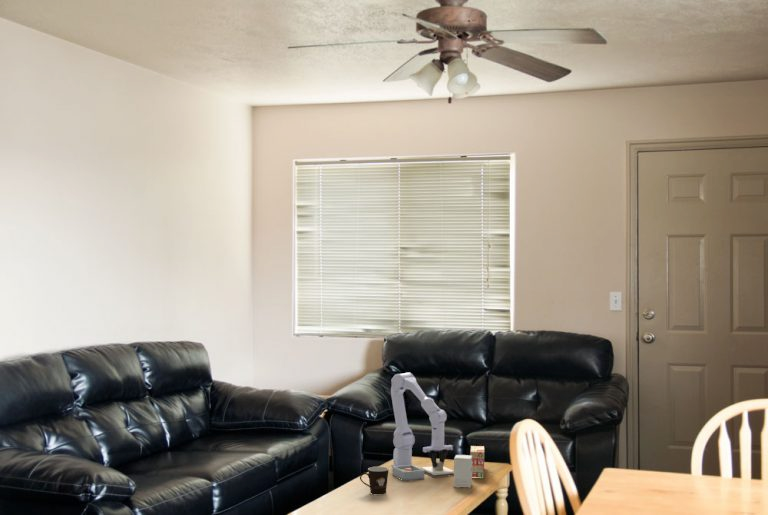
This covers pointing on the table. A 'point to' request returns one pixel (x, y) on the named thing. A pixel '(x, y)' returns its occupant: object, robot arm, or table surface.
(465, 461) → the supplement box
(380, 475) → the coffee mug
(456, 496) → the table surface
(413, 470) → the box
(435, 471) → the lid
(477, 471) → the stack of blocks
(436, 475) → the mat
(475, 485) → the table surface
